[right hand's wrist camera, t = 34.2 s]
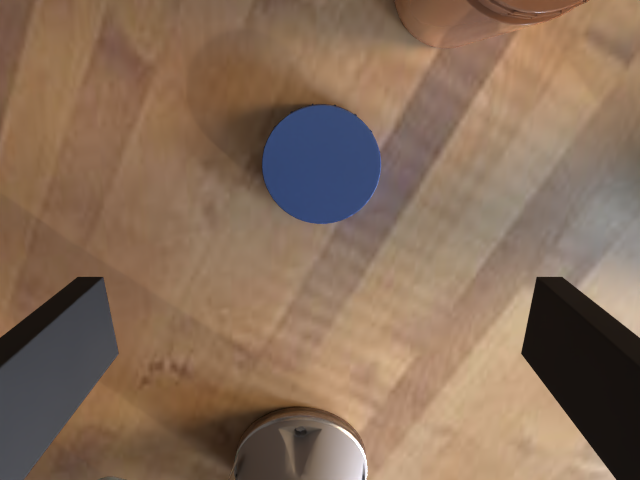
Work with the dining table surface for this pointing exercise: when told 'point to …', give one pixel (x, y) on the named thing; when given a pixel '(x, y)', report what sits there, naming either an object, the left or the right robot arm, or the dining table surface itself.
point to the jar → (475, 18)
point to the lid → (321, 164)
